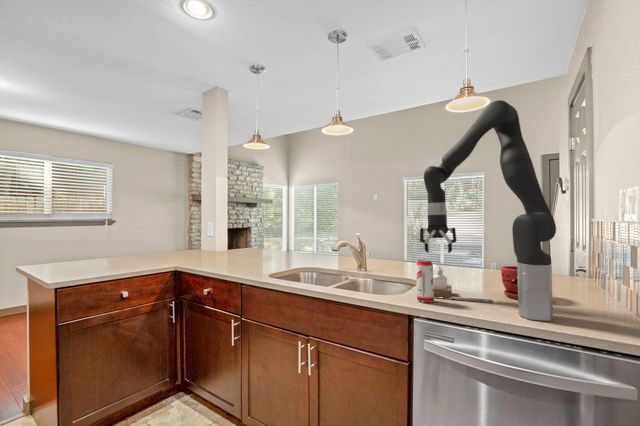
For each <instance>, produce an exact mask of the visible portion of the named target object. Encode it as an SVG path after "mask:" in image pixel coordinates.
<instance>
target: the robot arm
mask: <svg viewBox="0 0 640 426" xmlns="http://www.w3.org/2000/svg"><path fill="white" fill-rule="evenodd" d="M520 122H521V121H520V118H519V113H518V110H517V109H516V108H515V107H514V105H511V104H509V103H508V102H507V101H505V100H501V99H500V100H495V101H492V102H490V104H489V105H487V106H486V107H485V108H484V109H483V110H482V112H481V113H480V114H479V116H478V117H477V118H476V120H475V121H474V122H473V124H472V125H471V126H470V127H469V128H468V130H467V131H466V132H465V134H464V135H463V136H462V137H461V138H460V140H458V141H457V142H456V143H455V145H454V146H452V147H451V148H450V149H449V150H448V151H447V152H446V153H445V154H444V155H443V156H442V157H441V163H440V165H438V166H435V165H431V166H428V167H427V168H425V170H424V173H423V182H424V185H425V190H426V193H427V210H426V211H427V228H424V227H421V228H420V229H419V230H420V231H419V241H420V243H423V244H424V251H425V252H426V253H429V251H430V250H429V242H430V240H431V239H442V238H444V239H445V241H447V250H448V251H447V252H448V254H450V253H452V250H453V245H452V244H453V243H456V242H457V232H456V228H455V227H448V217H447V216H448V214H447V212H448V210H447V204H446V191H445V190H444V189H443V188H442V185H441V184H442V183H444V182H446V181H447V180H448V179H450V177H451V176H452V175H453V173H454V172H455V170H456V169H457V168H458V167H459V166H460V165H461V164H463V163H464V162H465V161H466V160H467V159H468V158H469V157H470V155H472V154H473V153H472V152H473V151H474V150H475V148H476V147H477V145H478V143H479V141H480V140H481V139H482V138H483V136H485V134H487V133H488V132H489V131H491V130H492V129H493V130H494V131H495V133H496V136H497V138H498V140H499V145H500V157H499V165H500V170H501V173H502V176H503V179H504V182H505V184H506V185H507V187H508V188H509V189H510V190H511V191H512V193H513V194H514V195H515V196H516V197H517V198H518V199H519V201H520V203H521V204H522V206H523V208H524V212H525V213H523V214H519V215H518V216H516V218H515V219H514V221H513V223H512V228H511V230H512V231H511V232H512V243H513V244H512V245H513V252H514V255H515V257H516V261H517V262H516V264H517V274H518V277H517V278H518V299H517V304H518V315H519V316H521V317H523V318H525V319H526V320H531V321H532V320H534V321H544V322H551V321H552V320H553V319H554V306H553V299H554V298H553V275H552V274H553V273H552V272H553V271H552V266H553V265H552V257H551V255H550V254H549V253H547V252H545V251H544V250H543V248H542V242H549V241H551V240H553V238H555V235H556V233H557V226H556V221H555V219H554V216H553V215H552V212H551V210H550V208H549V206H548V204H547V202H546V199H545V197H544V194H543V192H542V189H541V185H540V183H539V180H538V177H537V173H536V171H535V166H534V163H533V161H532V158H531V156H530V152H529V150H528V147H527V145H526V142H525V140H524V137H523V134H522V129H521V124H520ZM448 231H449V232H450V234H452V239H450V238H449V236H448V235H447V233H448ZM426 232H427V233H428V236H427V238H426V239H424V237H425V235H424V234H425V233H426Z"/></svg>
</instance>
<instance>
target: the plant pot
mask: <svg viewBox="0 0 640 426" xmlns="http://www.w3.org/2000/svg"><path fill="white" fill-rule="evenodd" d="M500 271H501V272H500V273H501V282H502V284H503V287H504V288H505V290H503V294H504V295H505V296H506V297H508V298H511V299H515V300H518V274H517V266H516V265H515V266H514V265H510V266H509V265H508V266H507V265H506V266H501V268H500Z"/></svg>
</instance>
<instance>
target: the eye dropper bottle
mask: <svg viewBox="0 0 640 426" xmlns="http://www.w3.org/2000/svg"><path fill="white" fill-rule="evenodd" d="M435 271H436V273H435V275H433V282H434V289H447V285H448V278H447V277H446V276H445V275H443V269H442V268H441V266H438V267H437V269H436V270H435Z"/></svg>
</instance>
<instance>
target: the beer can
mask: <svg viewBox="0 0 640 426" xmlns="http://www.w3.org/2000/svg"><path fill="white" fill-rule="evenodd" d="M415 266H416V268H415V269H416V299H417V301H418V302H419V301H423V302H431V303H432V302H434V300H435V298H434V282H433V276H434V264H433V263H432V260H431V259H426V258H425V259H423V258H422V259H417V263H416V265H415Z"/></svg>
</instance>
